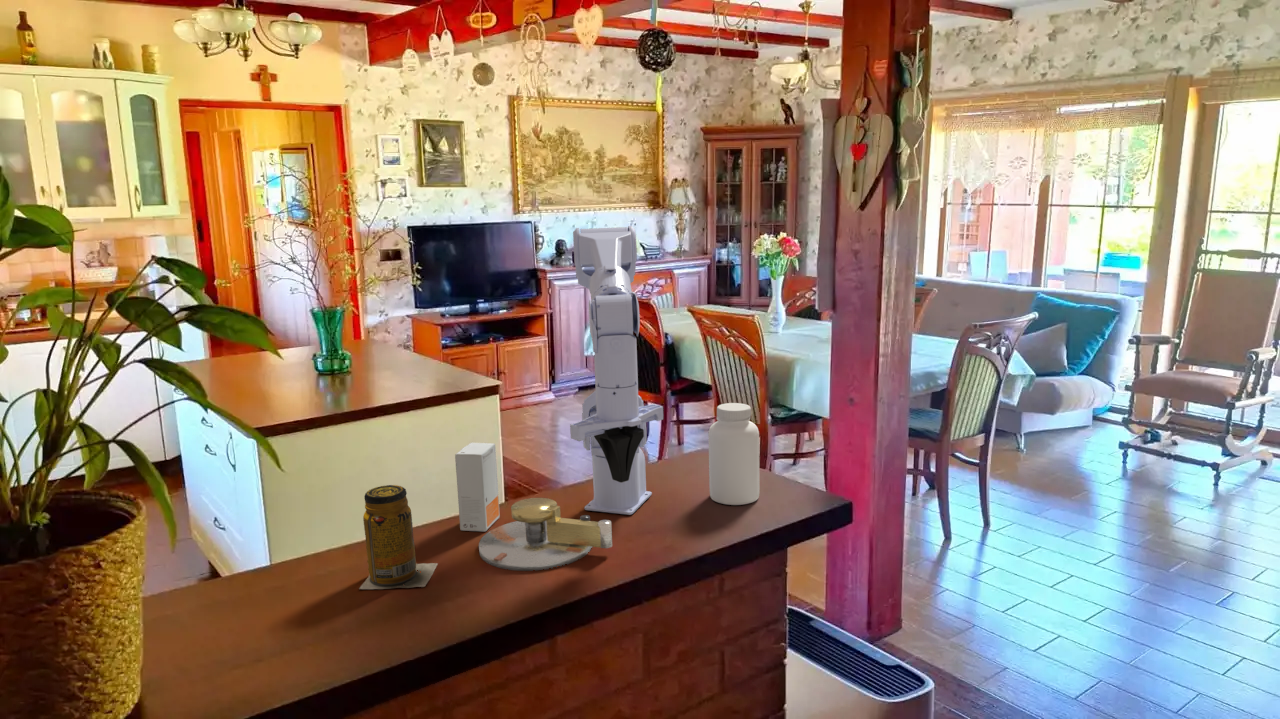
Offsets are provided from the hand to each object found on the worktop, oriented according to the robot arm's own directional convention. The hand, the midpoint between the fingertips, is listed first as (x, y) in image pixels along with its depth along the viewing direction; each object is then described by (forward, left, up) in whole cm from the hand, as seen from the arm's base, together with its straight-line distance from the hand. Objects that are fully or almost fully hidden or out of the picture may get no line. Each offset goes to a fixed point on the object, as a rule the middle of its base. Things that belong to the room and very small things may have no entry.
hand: (620, 479), depth 120 cm
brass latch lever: (+3, -8, -9) cm, 12 cm away
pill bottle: (-23, +10, -10) cm, 27 cm away
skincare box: (-2, -24, -10) cm, 26 cm away
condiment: (+17, -25, -10) cm, 32 cm away
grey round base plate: (+3, -12, -10) cm, 16 cm away
